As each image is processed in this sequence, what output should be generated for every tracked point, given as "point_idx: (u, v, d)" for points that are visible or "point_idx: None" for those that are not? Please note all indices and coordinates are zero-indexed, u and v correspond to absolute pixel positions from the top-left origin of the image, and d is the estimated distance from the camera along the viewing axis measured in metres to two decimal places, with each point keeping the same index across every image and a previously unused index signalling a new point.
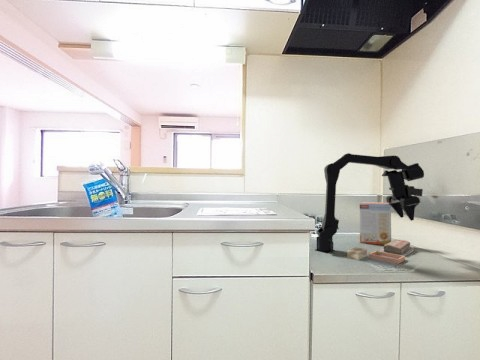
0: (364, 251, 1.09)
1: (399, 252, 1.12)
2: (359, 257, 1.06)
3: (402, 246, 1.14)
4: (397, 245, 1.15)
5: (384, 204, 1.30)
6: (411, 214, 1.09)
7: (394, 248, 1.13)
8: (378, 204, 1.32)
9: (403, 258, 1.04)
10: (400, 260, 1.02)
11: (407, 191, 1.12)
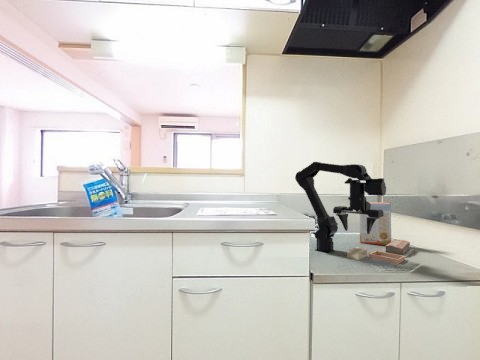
0: (364, 251, 1.09)
1: (401, 252, 1.11)
2: (359, 257, 1.06)
3: (403, 246, 1.14)
4: (398, 245, 1.14)
5: (384, 204, 1.30)
6: (370, 227, 1.05)
7: (396, 248, 1.12)
8: (378, 204, 1.32)
9: (403, 258, 1.04)
10: (400, 260, 1.02)
11: (365, 204, 1.09)
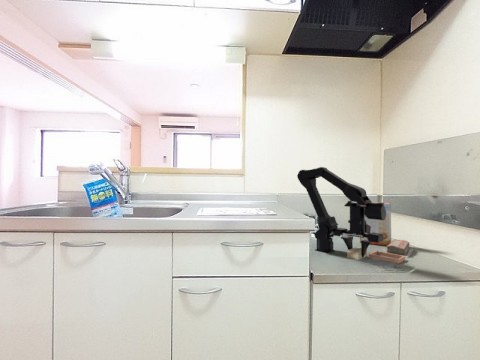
0: None
1: (403, 252, 1.11)
2: (359, 257, 1.06)
3: (404, 246, 1.14)
4: (400, 245, 1.14)
5: (384, 204, 1.30)
6: (365, 250, 1.07)
7: (398, 249, 1.12)
8: None
9: (403, 258, 1.04)
10: (400, 260, 1.02)
11: (365, 227, 1.09)
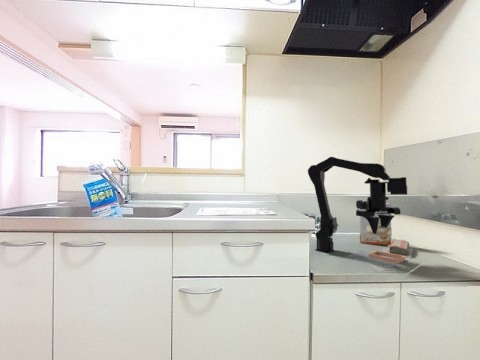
0: None
1: (405, 253, 1.11)
2: None
3: (406, 246, 1.14)
4: (402, 246, 1.14)
5: None
6: None
7: (400, 249, 1.11)
8: None
9: (403, 258, 1.04)
10: (400, 260, 1.02)
11: None
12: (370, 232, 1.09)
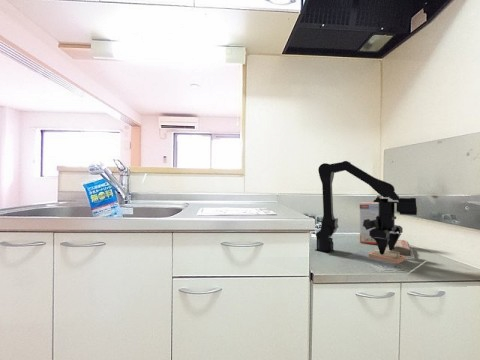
0: None
1: (408, 253, 1.10)
2: None
3: (408, 246, 1.14)
4: (404, 246, 1.13)
5: None
6: None
7: (404, 249, 1.11)
8: (378, 204, 1.32)
9: (403, 258, 1.04)
10: (400, 260, 1.02)
11: None
12: None
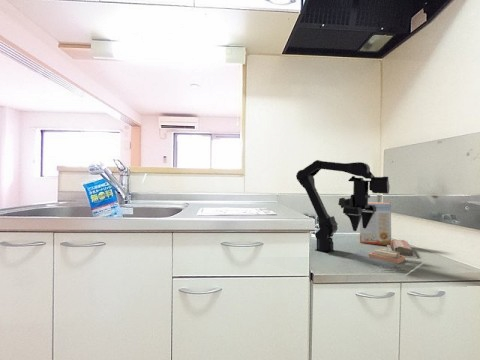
0: None
1: (410, 253, 1.10)
2: None
3: (409, 246, 1.14)
4: (405, 246, 1.13)
5: (384, 204, 1.30)
6: None
7: (406, 249, 1.10)
8: (378, 204, 1.32)
9: (403, 258, 1.04)
10: (400, 260, 1.02)
11: None
12: None
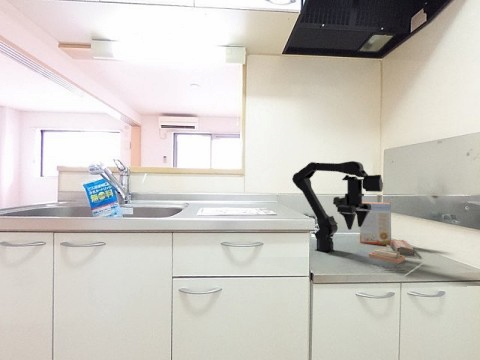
0: None
1: (412, 253, 1.10)
2: None
3: (410, 246, 1.14)
4: (407, 246, 1.13)
5: (384, 204, 1.30)
6: None
7: (408, 250, 1.10)
8: (378, 204, 1.32)
9: (403, 258, 1.04)
10: (400, 260, 1.02)
11: None
12: None
